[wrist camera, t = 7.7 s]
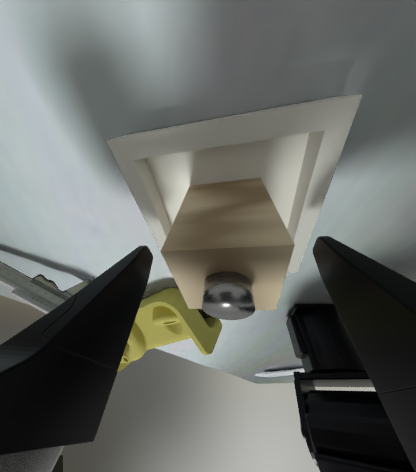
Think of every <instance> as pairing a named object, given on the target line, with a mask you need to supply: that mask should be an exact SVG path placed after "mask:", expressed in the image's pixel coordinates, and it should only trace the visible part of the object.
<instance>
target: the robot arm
mask: <svg viewBox="0 0 416 472" xmlns="http://www.w3.org/2000/svg"><path fill="white" fill-rule="evenodd" d="M313 254H314V257H315V260H316V263H317V266H318V269H319V272H320V275H321V277H322V280H323V282H324V285H325V287H326V289H327V291H328V293H329V295H330V297H331V299H332V301H333V303H334V305H296V306H294V308H293V310H292V313H291V315H290V317H289V319H288V321H287V323H286V324H287V327H288V331H289V334H290V338H291V341H292V345H293V348H294V352H295V355H296V357H297V358H299V359H301V360H302V364H303V367H304V370H305V372H302V373H300V372H294V378H295V380H294V383H295V389H296V396H297V402H298V408H299V414H300V422H301V432H302V435H303V437H304V439H305V440H306V442H307V445H308V448H309V451H310V454H311V456H312V458H313V460H314V462H315V464H316V465H317V466H318V467H319V469H320V472H416V282H414V281H412V280H410V279H408V278H406V277H404V276H403V275H401V274H399V273H397V272H395V271H393V270H391V269H389V268H388V267H386V266H384V265H382V264H380V263H378V262H376V261H374V260H372V259H371V258H369V257H367V256H365V255H363V254H361V253H359V252H357V251H356V250H354V249H352V248H350V247H348V246H346V245H344V244H342V243H340V242H339V241H337V240H335V239H333V238H331V237H329V236H320V237H318V238H317V240H316V242H315V245H314V247H313ZM152 261H153V255H152V253H151V252H150V250H149V248H148V247H147V246H139V247H138V248H136V249H135V250H134V251H132V252H131V253H130V254H128V255H127V256H125V257H124V258H123V259H121V260H120V261H119V262H117V263H116V264H115V265H113V266H112V267H111V268H109V269H108V270H107V271H105V272H104V273H102V274H101V275H100V276H98V277H97V278H96V279H94V280H93V281H92V282H90V283H89V284H88V285H86V286H85V287H84V288H82V289H81V290H79V291H78V292H77V293H75V294H74V295H73V296H71V297H70V298H69V299H67V300H66V301H65V302H63V303H62V304H60V305H59V306H58V307H56V308H55V309H53V310H52V311H50V312H49V313H47V314H46V315H44V316H43V317H42V318H40V319H39V320H37V321H36V322H34V323H33V324H31V325H30V326H28V327H27V328H25V329H24V330H22V331H21V332H19V333H18V334H16V335H15V336H13V337H12V338H10V339H9V340H7V341H6V342H4V343H3V344H1V345H0V472H63V456H62V455H60V453H61V451H62V449H63V447H64V446H66V445H74V444H81V443H88V442H92V441H94V438H95V436H96V433H97V431H98V428H99V425H100V422H101V419H102V416H103V412H104V410H105V407H106V404H107V401H108V398H109V395H110V392H111V389H112V386H113V383H114V380H115V377H116V375H117V372H118V371H117V370H118V368H119V365H120V362H121V359H122V356H123V354H124V351H125V348H126V345H127V342H128V339H129V336H130V333H131V330H132V327H133V324H134V321H135V318H136V315H137V312H138V309H139V306H140V303H141V300H142V298H143V295H144V292H145V289H146V286H147V282H148V279H149V274H150V270H151V265H152ZM316 386H317V387H375V390H376V392H372V391H322V390H321V391H320V390H315V387H316Z"/></svg>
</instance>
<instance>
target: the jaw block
mask: <svg viewBox="0 0 416 472" xmlns="http://www.w3.org/2000/svg"><path fill="white" fill-rule="evenodd" d="M294 246H295V244H294V242H293V240H292V238H291V236H290V234H289V232H288V230H287V228H286V226H285V225H284V223H283V221H282V219H281V217H280V215H279V213H278V211H277V209H276V207H275V205H274V203H273V201H272V199H271V197H270V195H269V193H268V191H267V189H266V187H265V185H264V183H263V181H262V180H261V178H253V179H244V180H236V181H227V182H218V183H210V184H201V185H193V186H189V189H188V191H187V193H186V195H185V198H184V200H183V202H182V204H181V206H180V209H179V211H178V213H177V215H176V218H175V220H174V222H173V224H172V227H171V229H170V231H169V233H168V236H167V238H166V240H165V242H164V245H163V247H162V249H161V253H162V255H163V257H164V259H165V261H166V263H167V265H168V267H169V269H170V271H171V273H172V275H173V277H174V279H175V281H176V284H177V286H178V288H179V290H180V292H181V294H182V296H183V298H184V300H185V302H186V304H187V306H188V308H189V309H203V311H204V312H205V313H206V314H208V315H210V316H212V317H215V318H219V319H225V320H237V319H243V318H246V317H249V316H250V315H252V314H253V313H254V311H255V310H276V308H277V305H278V301H279V298H280V294H281V291H282V287H283V284H284V280H285V277H286V274H287V270H288V267H289V263H290V260H291V256H292V253H293V249H294Z"/></svg>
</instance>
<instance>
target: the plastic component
mask: <svg viewBox="0 0 416 472" xmlns="http://www.w3.org/2000/svg"><path fill="white" fill-rule="evenodd" d="M221 329H222V323H221V322H220V320H219V319H218V318H215V317H208V318H204V319H203V317H202V316H201V314H200V313H199V311H198V310H197V309H189V308H188V306H187V304H186V302H185V300H184V298H183V296H182V294H181V292H180V290H179V289H177V288H167V289H165V290H163V291H160V292H158V293H156V294H154V295H152V296H149V297H147V298H145V299H143V300H141V303H140V306H139V309H138V312H137V315H136V318H135V321H134V324H133V327H132V330H131V333H130V336H129V339H128V342H127V345H126V348H125V351H124V354H123V356H122V359H121V362H120V365H119V368H118V370H117V371H118V372H119V371H121V370H122V369H123V368H125V367H126V366H127V365H128V364H129V363H131V362H132V361H134V360H137V359H139V358H141V357H142V356H143V354H144V353H145V352H146V351H147V350H149V349H151V348H155V347H159V346H163V345H167V344H171V343H174V342H178V341H182V340H186V339H190V338H192V339H193V341H194V342H195V344H196V345H197V347H198V348H199V350H200V351H201V353H202V354H204V355H207V354H211V353H212V352H213V349H214V347H215V344H216V342H217V339H218V337H219V334H220V331H221Z"/></svg>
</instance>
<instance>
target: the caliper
mask: <svg viewBox="0 0 416 472" xmlns="http://www.w3.org/2000/svg"><path fill="white" fill-rule="evenodd" d="M90 282H92V281H90V280H86V281H84V282H82V283H79V284H77V285H75V286H73V287H71V288H69V289H67V290H65V291H61V290H59V289H58V287H57V285H56V284H55V283H54V282H53V281H51V280H48V279H46V278H45V277H44V276H43V275H41V274H39V275H37V276H36V277H34V278H30V277H28V276H26V275H24V274H22V273H21V272H19V271H17V270H15V269H13V268H11V267H10V266H8V265H6V264H4V263H2V262H0V283H1V284H3V285H4V286H6V287H8V288H10V289H12V290H13V291H12V295H13V296H14V297H16V298H18V299H20V300H22V301H24V302H25V303H27V304H29V305H31V306H33V307H35V308H36V309H38V310H40V311H42V312H44V313H46V314H47V313H49V312H50V311H52V310H53V309H55V308H56V307H58V306H59V305H60V304H62V303H63V302H65V301H66V300H67V299H69V298H70V297H71V296H73V295H74V294H75V293H77V292H78V291H79V290H81V289H82V288H84V287H85V286H86V285H88V284H89V283H90Z"/></svg>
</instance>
